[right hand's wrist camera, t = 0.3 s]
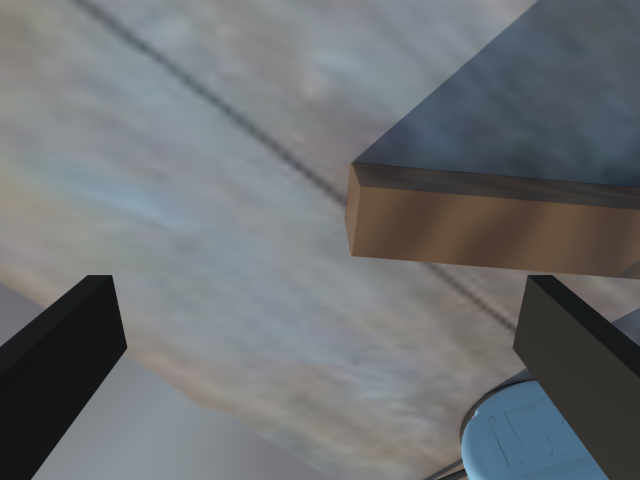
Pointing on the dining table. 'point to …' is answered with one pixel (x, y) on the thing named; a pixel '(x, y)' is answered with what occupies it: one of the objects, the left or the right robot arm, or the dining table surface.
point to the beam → (493, 221)
